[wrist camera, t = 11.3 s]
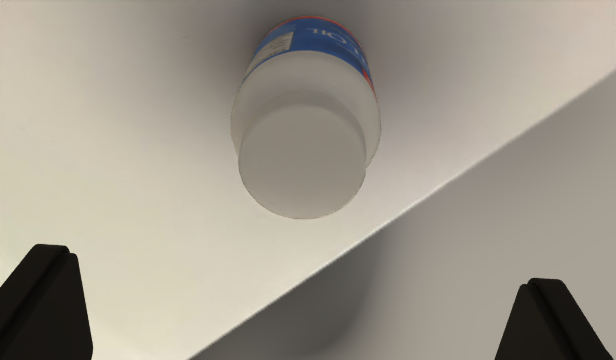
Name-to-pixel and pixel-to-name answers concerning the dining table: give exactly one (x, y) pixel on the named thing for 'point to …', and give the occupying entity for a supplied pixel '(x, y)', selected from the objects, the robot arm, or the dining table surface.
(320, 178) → the pill bottle
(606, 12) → the dining table surface
